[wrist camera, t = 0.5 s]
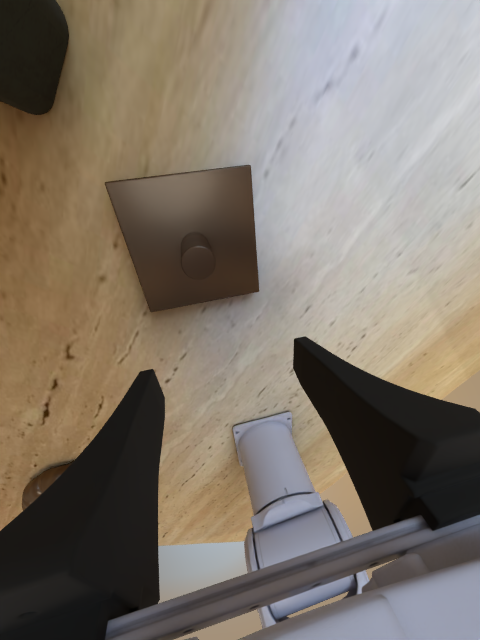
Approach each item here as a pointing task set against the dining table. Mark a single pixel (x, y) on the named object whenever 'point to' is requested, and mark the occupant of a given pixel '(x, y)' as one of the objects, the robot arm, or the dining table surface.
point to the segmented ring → (41, 484)
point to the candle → (31, 53)
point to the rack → (189, 234)
